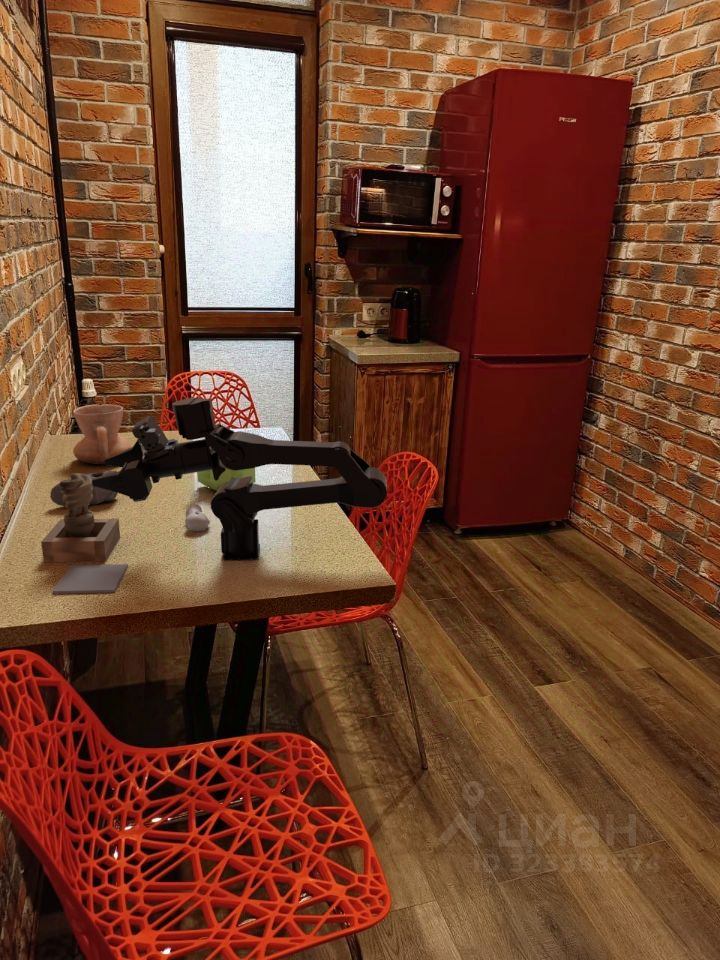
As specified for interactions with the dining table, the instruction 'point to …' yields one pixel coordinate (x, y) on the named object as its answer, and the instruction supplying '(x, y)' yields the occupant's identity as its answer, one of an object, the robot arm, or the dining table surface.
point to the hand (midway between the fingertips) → (98, 472)
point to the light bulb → (78, 505)
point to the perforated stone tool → (98, 493)
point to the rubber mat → (91, 579)
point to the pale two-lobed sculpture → (196, 518)
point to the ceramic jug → (99, 433)
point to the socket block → (81, 543)
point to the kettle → (223, 477)
